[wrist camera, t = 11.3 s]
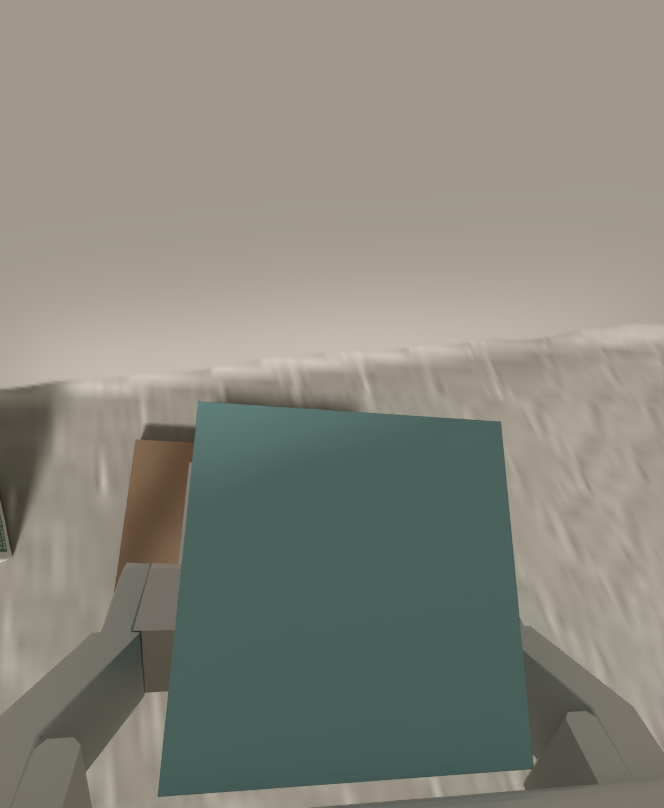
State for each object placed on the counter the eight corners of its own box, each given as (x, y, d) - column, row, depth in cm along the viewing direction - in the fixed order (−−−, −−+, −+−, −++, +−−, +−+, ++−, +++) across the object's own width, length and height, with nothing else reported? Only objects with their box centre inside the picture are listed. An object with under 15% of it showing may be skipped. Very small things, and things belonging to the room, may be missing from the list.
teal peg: (365, 486, 16) (500, 421, 8) (367, 644, 15) (533, 768, 7) (220, 480, 16) (198, 401, 7) (205, 647, 14) (156, 797, 6)
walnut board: (395, 456, 35) (400, 452, 34) (400, 668, 31) (406, 672, 30) (139, 443, 32) (135, 439, 31) (107, 676, 28) (101, 681, 27)
